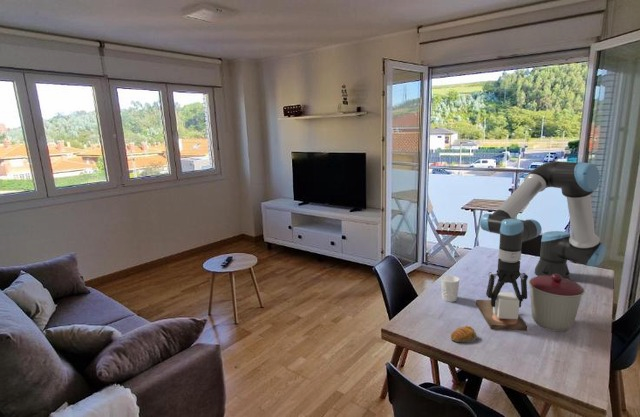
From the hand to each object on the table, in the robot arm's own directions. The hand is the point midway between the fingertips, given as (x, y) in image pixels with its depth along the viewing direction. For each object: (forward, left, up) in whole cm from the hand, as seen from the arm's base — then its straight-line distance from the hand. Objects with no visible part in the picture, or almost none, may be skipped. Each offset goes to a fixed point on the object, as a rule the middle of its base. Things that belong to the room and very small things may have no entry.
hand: (505, 313), depth 142 cm
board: (0, -6, -4) cm, 7 cm away
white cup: (+17, -21, -4) cm, 27 cm away
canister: (-18, -1, -4) cm, 18 cm away
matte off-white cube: (0, 0, 0) cm, 0 cm away
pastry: (+18, +11, -5) cm, 22 cm away
